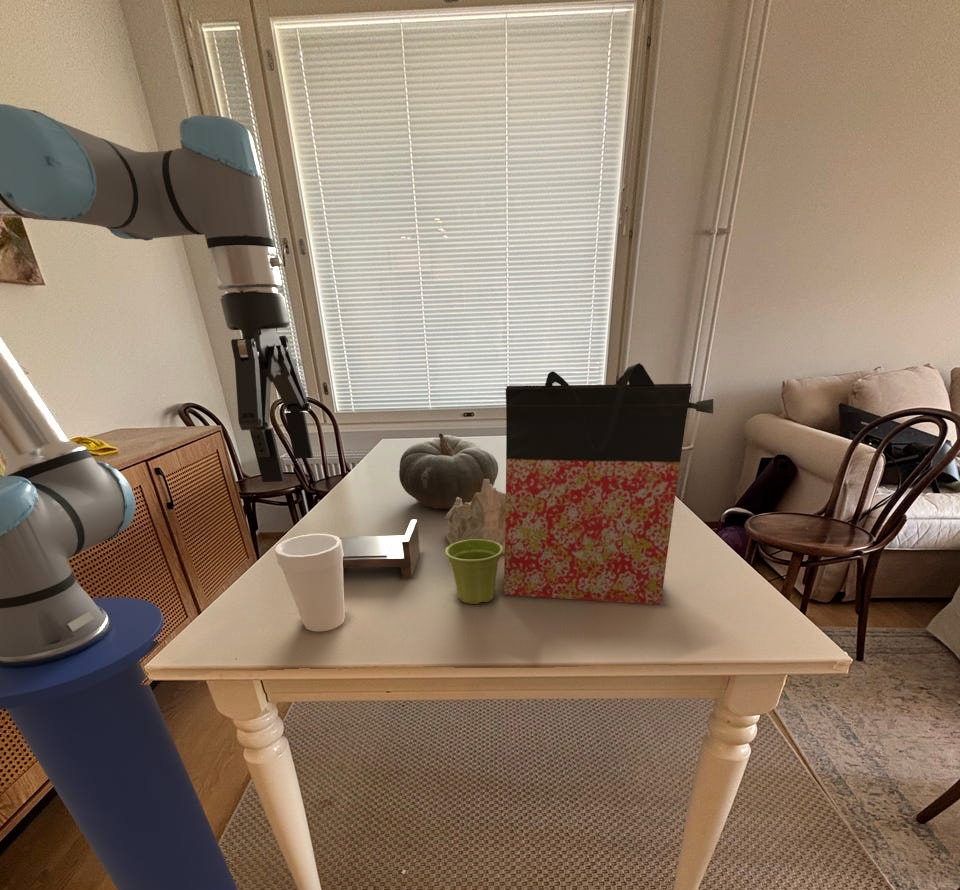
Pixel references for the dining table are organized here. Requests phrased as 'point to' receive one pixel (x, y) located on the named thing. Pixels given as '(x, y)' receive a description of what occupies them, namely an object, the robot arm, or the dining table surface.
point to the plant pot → (474, 568)
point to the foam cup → (315, 578)
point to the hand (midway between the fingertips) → (289, 468)
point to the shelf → (383, 551)
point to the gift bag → (592, 486)
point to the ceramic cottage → (479, 517)
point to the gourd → (446, 471)
